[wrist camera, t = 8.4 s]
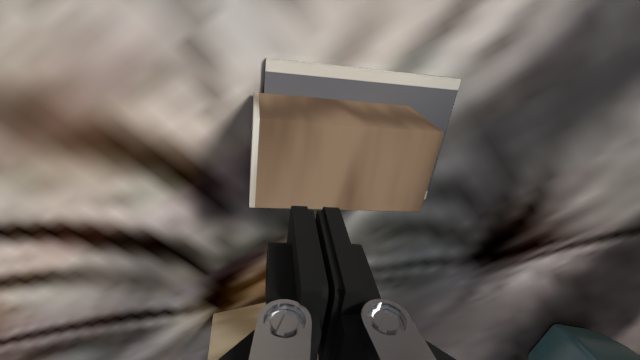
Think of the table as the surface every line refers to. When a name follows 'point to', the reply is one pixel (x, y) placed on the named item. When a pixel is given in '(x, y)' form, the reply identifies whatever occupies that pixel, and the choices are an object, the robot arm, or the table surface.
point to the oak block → (231, 329)
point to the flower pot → (579, 346)
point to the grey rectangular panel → (365, 88)
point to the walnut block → (339, 154)
